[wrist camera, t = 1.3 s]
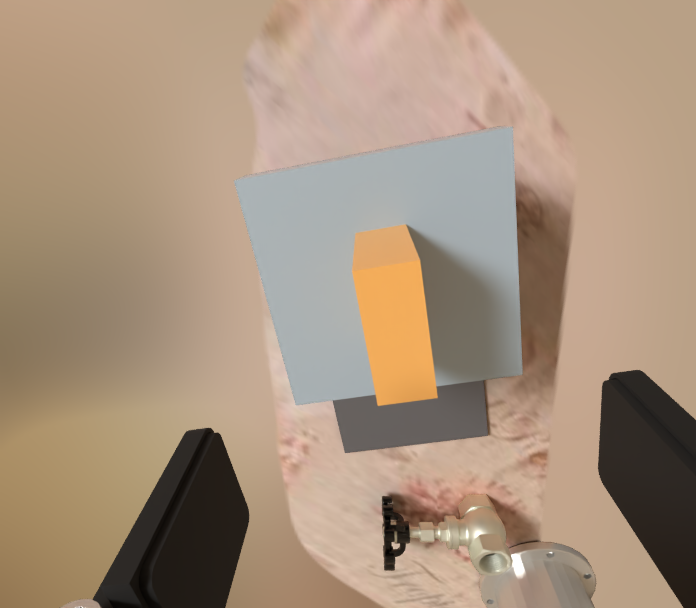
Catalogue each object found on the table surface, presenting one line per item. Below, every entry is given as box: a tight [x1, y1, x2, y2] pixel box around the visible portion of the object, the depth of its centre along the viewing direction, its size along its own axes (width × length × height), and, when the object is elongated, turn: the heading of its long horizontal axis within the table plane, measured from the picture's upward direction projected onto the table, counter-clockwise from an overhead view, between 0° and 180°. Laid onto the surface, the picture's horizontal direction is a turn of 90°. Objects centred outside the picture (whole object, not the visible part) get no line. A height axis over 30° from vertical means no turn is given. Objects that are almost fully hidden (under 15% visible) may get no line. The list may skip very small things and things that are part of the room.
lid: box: [234, 126, 523, 406], centre depth 21 cm, size 13×13×8 cm
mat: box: [333, 380, 488, 453], centre depth 40 cm, size 14×14×1 cm
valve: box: [382, 494, 513, 576], centre depth 43 cm, size 7×7×12 cm
